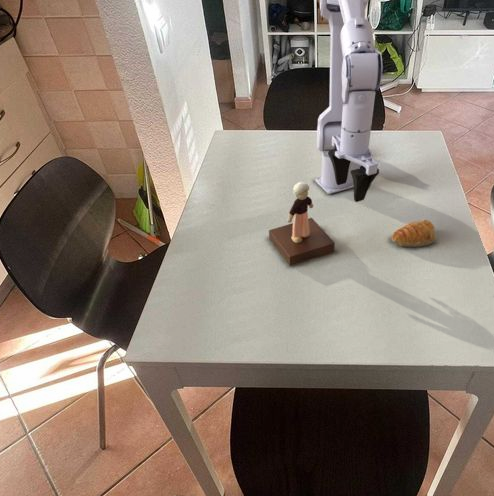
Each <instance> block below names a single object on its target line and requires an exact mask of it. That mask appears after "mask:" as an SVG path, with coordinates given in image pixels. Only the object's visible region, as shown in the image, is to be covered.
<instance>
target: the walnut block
mask: <svg viewBox="0 0 494 496" xmlns="http://www.w3.org/2000/svg"><path fill="white" fill-rule="evenodd" d="M308 221H309V230H310V235H309V236H308V237H306V238H303V237H301V238H302V241H301V242H299V243H295V242H294V241H293V240H292V238H291V237H292V236H293V222H291V223H288V224H285V225H282V226H278V227H275V228H272V229H268V235H269V241H270V242H271V243H272V244H273V246H274V247H275V249H276V250H277V251H278V252H279V254H280V255H281V257H282V258H283V259H284V260H285V262H286V263H287V264H288V266H289V267H291V266H294V265H298V264H301V263H304V262H307V261H311V260H313V259H316V258H319V257H323V256H327V255H329V254H332V253H334V252H335V246H336V245H335V241H334V240H333V239H332V238H331V237H330V236H329V235H328V234H327V233H326V232H325V230H323V228H322V227H321V226H320V225H319V224H318V223H317V221H315V219H313V217H308Z"/></svg>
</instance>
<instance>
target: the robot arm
mask: <svg viewBox="0 0 494 496" xmlns="http://www.w3.org/2000/svg"><path fill="white" fill-rule="evenodd" d="M369 1H370V0H319V11H320V16H321V17H322V18H324V19H325V20H327V21H328V25H329V31H330V37H329V38H330V41H329V43H330V45H329V46H330V47H329V48H330V49H329V55H330V56H329V103H328V105H329V106H328V107H327V108H326V109H325V110H324V111H323V112H322V113H320V114H319V116H318V118H317V126H316V146H317V147H316V148H317V150H318V151H319V152H322V153H321V175H320V177H317V178H315V179H314V181H315V183H316V184H318V186H319V187H321V188H322V189H323V191H325V192H326V193H327V194H328V195H331V194H335V193H338V192H339V193H340V192H342V191H346V190H349V189H352V188H353V201H354V202H356V203H358V202H361V201H364V200H365V198H366V195H367V193H368V191H369V189H370V186H371V185H372V183H373V181H374V180H375V179H376V178H377V176H378V175H379V174H380V169H379V163H378V162H377V161H376V160H375V159H374V156H373V154H372V152H371V150H370V140H371V132H372V131H371V130H372V123H373V117H374V106H375V99H376V91H379V89H380V87H381V84H382V77H383V56H382V55H383V54H382V51H380V50H379V48H376V46H375V42H374V41H375V40H374V34H373V29H372V24H371V22H370V21H369V20H368V19H367V18H366V17H365V10H366V8H367V6H368V4H369Z"/></svg>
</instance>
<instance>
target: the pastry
mask: <svg viewBox="0 0 494 496" xmlns="http://www.w3.org/2000/svg"><path fill="white" fill-rule="evenodd" d="M436 239H437V235H436V231H435V226H434V224H433V223H432V222H431V221H428V220H426V219H424V220H422V221H414V222H413V221H412V222H409V223H406V224H405V225H404V226H402V227H400V228H398V229H396V230H395V231H394V232H393V234H392V237H391V240H392V242H393V243H394V244H396V245H397V246H399V247H404V248H407V247H410V248H417V247H423V246H430V245H432V244H433V243H434V242H436Z"/></svg>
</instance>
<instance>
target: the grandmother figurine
mask: <svg viewBox="0 0 494 496" xmlns="http://www.w3.org/2000/svg"><path fill="white" fill-rule="evenodd" d="M292 191H293V195H294V196H295V197H296V199H295V200H294V202H293V204H292V206H291V208H290V210H289V212H288V217H287V218H286V221H287V223H288V224H291V223H293V236H292V237H291V238H292V240H293V241H294V242H295V243H299V242H301V241H302V238H301V237H303V238H306V237H308V236H309V235H310V230H309V221H308V219H309V213H308V209H313V208H314V204H313V199H312V198H311V197H310V196H309V191H310V185H309V184H308V183H306V182H303V181H299V182H297V183H296V184H294V186H293V188H292ZM292 221H293V222H292Z"/></svg>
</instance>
